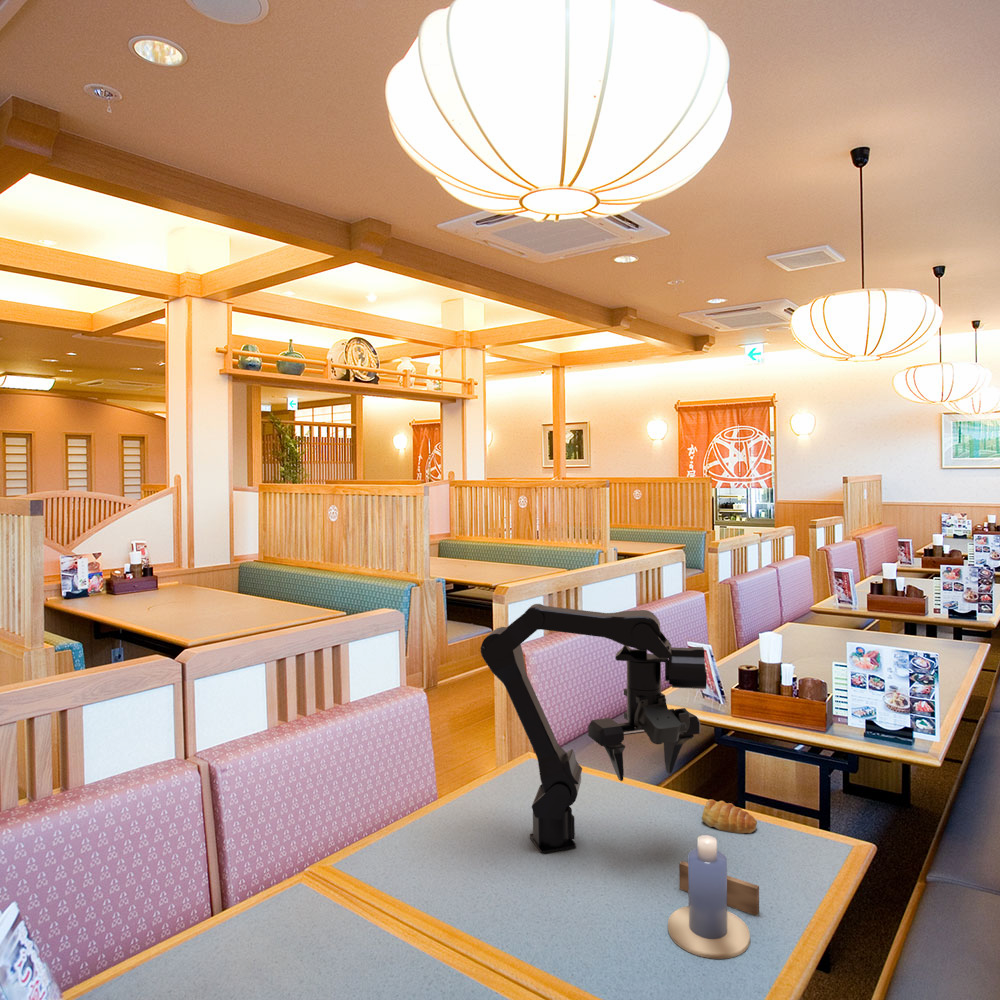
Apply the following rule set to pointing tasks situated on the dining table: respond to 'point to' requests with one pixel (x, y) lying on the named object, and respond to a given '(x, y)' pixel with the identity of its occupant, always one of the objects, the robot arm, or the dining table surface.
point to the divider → (730, 891)
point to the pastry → (728, 817)
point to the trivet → (709, 948)
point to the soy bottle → (707, 889)
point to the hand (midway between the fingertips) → (645, 776)
